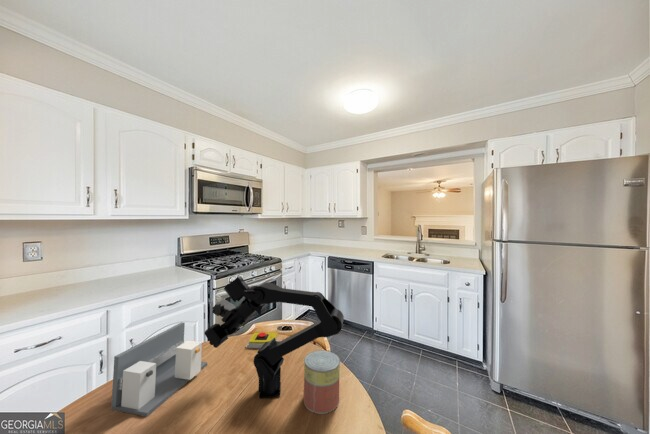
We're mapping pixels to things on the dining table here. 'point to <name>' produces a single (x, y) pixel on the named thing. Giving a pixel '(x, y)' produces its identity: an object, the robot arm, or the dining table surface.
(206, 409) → the dining table surface
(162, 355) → the steel rail
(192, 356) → the breaker module
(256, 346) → the emergency button
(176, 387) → the mounting board
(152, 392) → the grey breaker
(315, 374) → the canned food
